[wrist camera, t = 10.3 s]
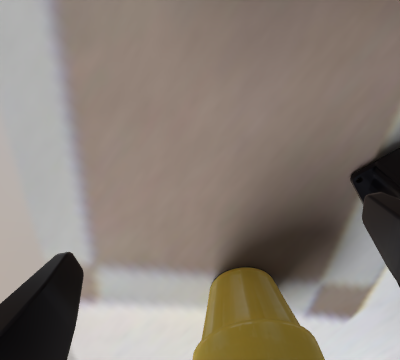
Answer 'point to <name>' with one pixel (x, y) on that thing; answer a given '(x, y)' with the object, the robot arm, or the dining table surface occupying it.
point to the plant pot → (252, 321)
